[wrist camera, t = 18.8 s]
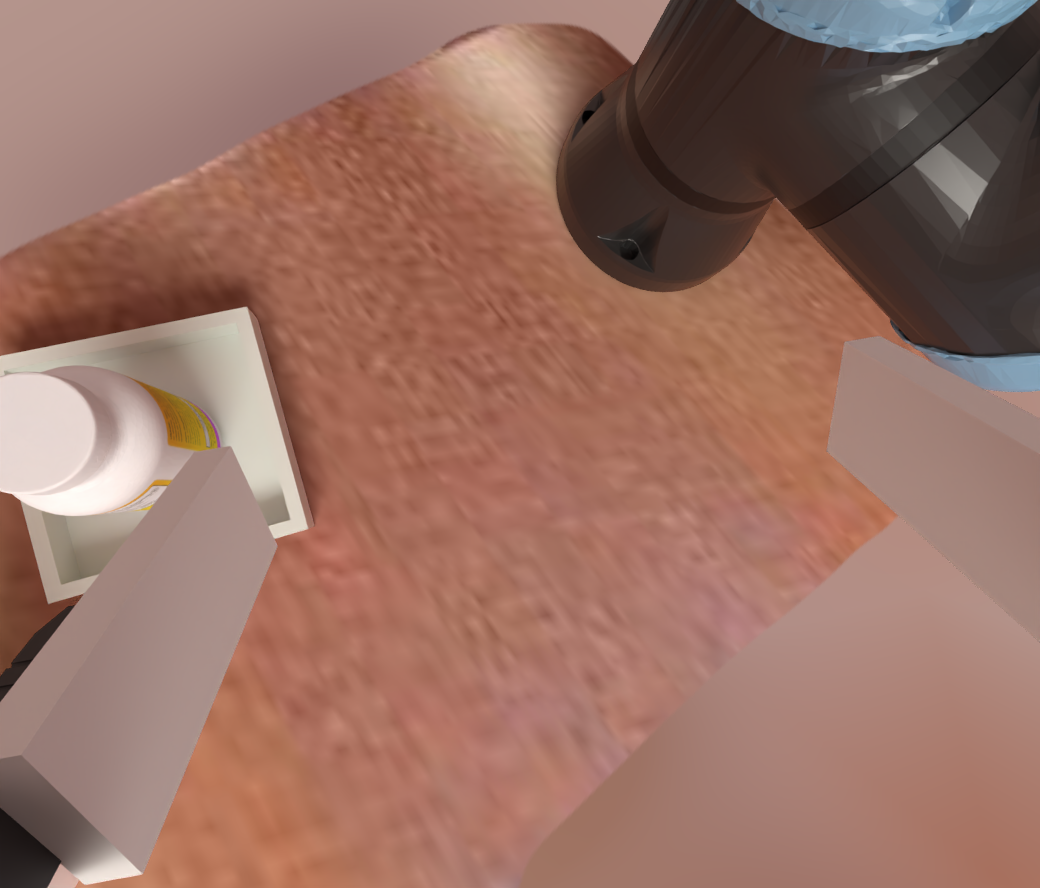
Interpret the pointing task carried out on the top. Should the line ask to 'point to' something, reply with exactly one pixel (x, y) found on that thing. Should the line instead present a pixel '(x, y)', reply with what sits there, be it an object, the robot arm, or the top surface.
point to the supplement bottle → (94, 440)
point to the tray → (201, 380)
